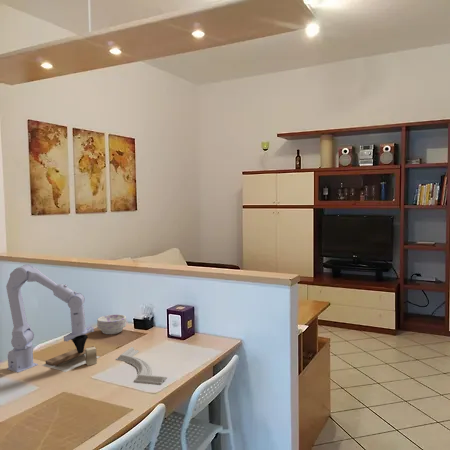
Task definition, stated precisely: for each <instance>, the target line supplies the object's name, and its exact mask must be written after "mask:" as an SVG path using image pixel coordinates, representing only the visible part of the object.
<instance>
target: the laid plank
mask: <svg viewBox="0 0 450 450" xmlns="http://www.w3.org/2000/svg"><path fill="white" fill-rule="evenodd" d="M77 352H78V351H77V348H75V349H72V350H70V351H67V352H64V353H62V354H59V355H57V356H54V357H52V358H49V359H46V360H45V364H47V365H51V366H55V365H54V363H55V362H57V361H59V360H61V359H63V358H65V357H67V356H70V355H72V354H75V353H77Z"/></svg>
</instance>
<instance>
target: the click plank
mask: <svg viewBox="0 0 450 450" xmlns="http://www.w3.org/2000/svg"><path fill="white" fill-rule="evenodd" d="M91 347H95V346H94V345H93V346H91ZM84 354H85V349H84V351H83V353H78V352H77V353H75V354H72V355H70V356H67V357H65V358H63V359H61V360H59V361H57V362H55V363H54V365H55V366H57V365H60V364H62V363H65V362H67V361H69V360H72V359H74V358H77V357H79V356H82V355H84Z"/></svg>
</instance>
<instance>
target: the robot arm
mask: <svg viewBox="0 0 450 450" xmlns="http://www.w3.org/2000/svg"><path fill="white" fill-rule="evenodd" d="M26 282H28V283H32V282H37V283H38V284H40V285H42V286H44V287H45V288H47V289H49V290H50V291H52V293H53V296H54V297H57V298H58V299H59V300H61V301H63V302H64V303H65V304H67V306H68V307H69V309H70V321H71V322H70V323H71V324H70V325H71V332H69V334H67V335H65V336H63V341H64V342H69V341H70V340H71V341H72V342H73V344H74V346H75V349H77V351H78V353H83V351H84V350H85V345H86V342H87V339H88V334H89V333H93V332H95V328H94V326H89V327H86V317H85V316H86V315H85V309H84V308H85V307H84V303H85V296H84V295H83V294H82V293H81V292H77V291H76V290H72V289H71V288H70V287H68V284H63V283H59V284H58V283H56V282H55V281H54V280H53V279H51V278H50V277H48V276H47V275H45V274H44V273H43V272H41V271H40V270H39V269H38V268H37V267H34V266H33V265H31V264H23V265H22V266H20V267H16V268H14V269H13V270H12V271H11V272H10V273H9V277H8V280H7V283H6V286H5V287H6V294H7V299H8V304H9V309H10V314H11V318H12V325H13V329H12V332H11V335H12V338H11V342H10V343H11V346H12V347H13V349H11V350H10V351H8V353H7V366H8V367H7V370H9V371H11V372H15V373H21V372H23V371H26V370H29V369H31V368H34V367H36V366H39V364H38V363H36V362H34V352H33V351H34V349H33V348H34V347H33V342H32V341H33V340H34V339H35V334H34V331H33V330H32V328H31V325H30V324H29V323H28V320H27V317H26V316H27V315H26V310H25V304H24V299H23V293H22V290H21V289H22V287H23V285H25V284H26Z"/></svg>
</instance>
